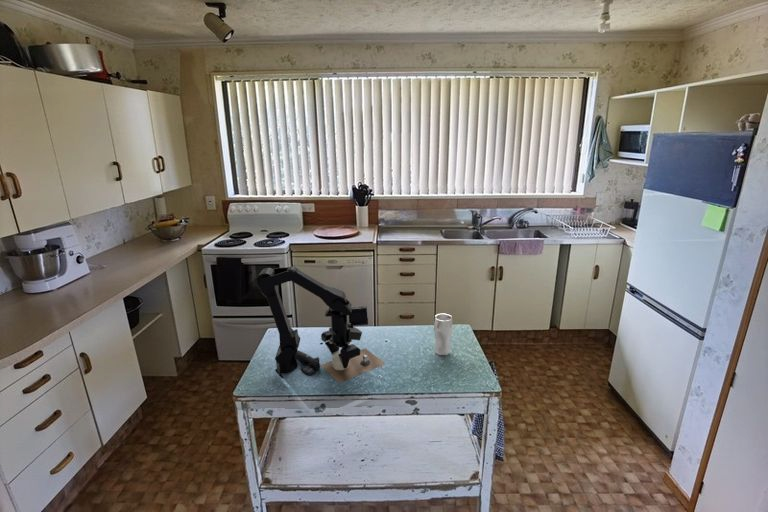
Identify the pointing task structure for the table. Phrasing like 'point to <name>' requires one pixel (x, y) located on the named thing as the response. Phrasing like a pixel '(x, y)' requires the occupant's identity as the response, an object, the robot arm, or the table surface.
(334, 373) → the board
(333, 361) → the cap
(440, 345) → the white cylindrical vase
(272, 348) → the table surface
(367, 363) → the door knob
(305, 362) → the can opener
